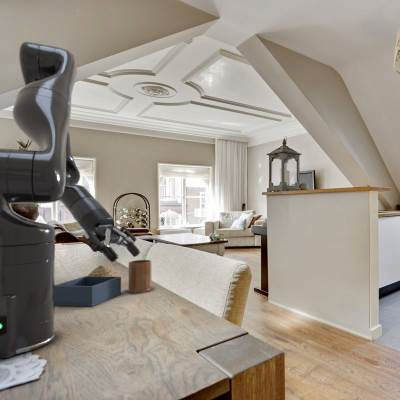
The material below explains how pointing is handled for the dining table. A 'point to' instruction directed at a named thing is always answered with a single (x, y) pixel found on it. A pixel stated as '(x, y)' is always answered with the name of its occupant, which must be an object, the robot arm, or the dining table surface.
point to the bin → (86, 291)
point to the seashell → (102, 272)
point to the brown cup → (139, 276)
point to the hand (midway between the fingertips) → (127, 257)
